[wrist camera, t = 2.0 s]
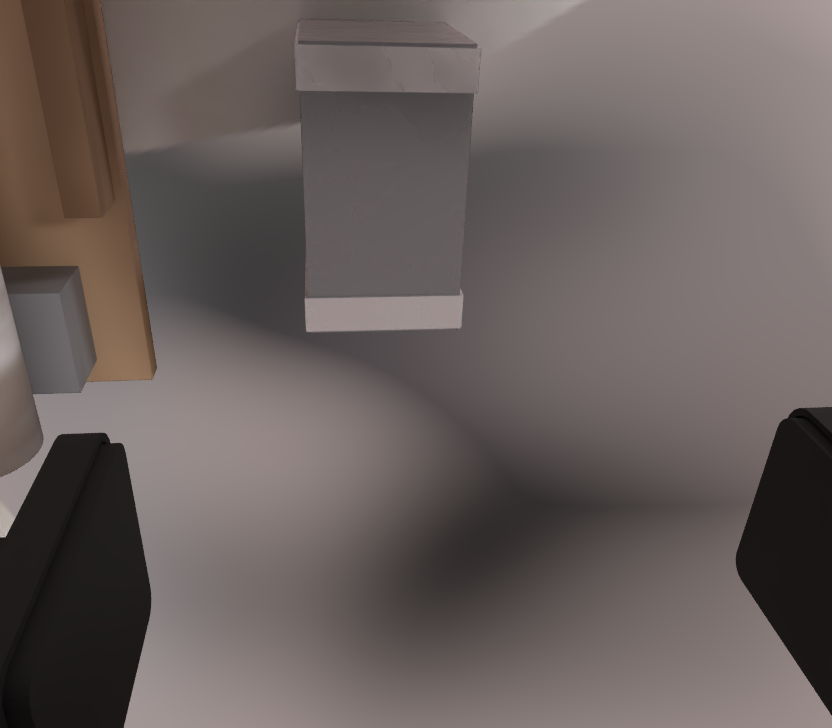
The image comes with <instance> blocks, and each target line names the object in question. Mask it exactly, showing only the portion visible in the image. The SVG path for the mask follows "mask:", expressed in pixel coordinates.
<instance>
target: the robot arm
mask: <svg viewBox="0 0 832 728" xmlns="http://www.w3.org/2000/svg"><path fill="white" fill-rule="evenodd" d="M736 566H737V571H738V574H739V576H740V578H741V580H742V582H743V583H744V585H745V586H746V588H747V589H748V590H749V592H750V594H751V595H752V597H753V598H754V600H755V601H756V603H757V604H758V605H759V607H760V609H761V610H762V612H763V613H764V615H765V616H766V618H767V619H768V621H769V622H770V624H771V625H772V627H773V628H774V630H775V631H776V632H777V634H778V636H779V637H780V639H781V640H782V642H783V643H784V644H785V646H786V647H787V649H788V651H789V652H790V653H791V655H792V656H793V658H794V660H795V661H796V663H797V664H798V666H799V667H800V668H801V670H802V672H803V673H804V675H805V676H806V677H807V679H808V681H809V682H810V684H811V685H812V687H813V688H814V689H815V691H816V693H817V694H818V696H819V697H820V698H821V700H822V702H823V703H824V705H825V706H826V707H827V709H828V710H829V712H830V714H831V715H832V407H822V408H799V409H796V410H794V411H793V412H792V413H791V414H790V415H789V417H788V418H787V419H784V420H783V421H781V422H780V424H779V426H778V428H777V431H776V434H775V437H774V440H773V443H772V446H771V450H770V453H769V456H768V459H767V462H766V465H765V468H764V471H763V474H762V477H761V480H760V483H759V486H758V489H757V493H756V495H755V498H754V502H753V504H752V508H751V511H750V514H749V517H748V520H747V523H746V526H745V529H744V532H743V535H742V538H741V541H740V544H739V547H738V550H737V554H736ZM150 611H151V589H150V583H149V578H148V573H147V567H146V562H145V556H144V550H143V545H142V539H141V534H140V528H139V523H138V518H137V513H136V507H135V501H134V496H133V491H132V485H131V479H130V474H129V469H128V463H127V458H126V453H125V449H124V446H123V444H121V443H112V444H111V443H110V440H109V438H108V436H107V434H105V433H84V434H61V435H59V436H58V437H57V438H56V440H55V441H54V443H53V445H52V447H51V449H50V451H49V453H48V455H47V457H46V459H45V461H44V463H43V465H42V467H41V469H40V471H39V473H38V475H37V477H36V479H35V481H34V483H33V485H32V487H31V489H30V491H29V493H28V495H27V496H26V499H25V500H24V502H23V504H22V506H21V508H20V510H19V512H18V514H17V516H16V518H15V520H14V522H13V524H12V526H11V528H10V530H9V532H8V534H7V536H6V537H4V538H0V728H124V723H125V719H126V714H127V711H128V706H129V702H130V698H131V693H132V689H133V685H134V681H135V677H136V673H137V668H138V664H139V660H140V656H141V651H142V647H143V643H144V639H145V634H146V630H147V625H148V622H149V617H150Z"/></svg>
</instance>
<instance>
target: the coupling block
mask: <svg viewBox="0 0 832 728" xmlns="http://www.w3.org/2000/svg"><path fill="white" fill-rule="evenodd" d="M294 54H295V78H296V91H300V111H301V135H302V136H301V137H302V159H303V160H302V162H303V187H304V212H305V236H306V237H305V238H306V257H305V260H306V261H305V319H306V332H309V333H329V332H368V331H369V332H372V331H415V330H457V329H458V328H461V323H462V309H463V293H462V291H461V289H460V287H461V286H460V285H461V272H462V257H463V241H464V228H465V213H466V199H467V184H468V170H469V155H470V141H471V125H472V112H473V97H474V93H478V84H479V83H478V82H479V70H480V56H481V48H479V47H478V46H477V44H476V43H474V42H473V41H471V40H470V39H469V38H467V37H466V36H464V35H463V34H461V33H460V32H458V31H457V30H455V29H454V28H452V27H451V26H449V25H448V24H446V23H440V22H402V21H363V20H324V19H300V22H298V23H297V30H296V36H295V42H294Z"/></svg>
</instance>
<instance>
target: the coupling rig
mask: <svg viewBox="0 0 832 728" xmlns="http://www.w3.org/2000/svg"><path fill="white" fill-rule="evenodd" d="M156 369H157V366H156V359H155V353H154V346H153V340H152V333H151V327H150V320H149V313H148V307H147V300H146V294H145V288H144V282H143V275H142V269H141V263H140V255H139V249H138V242H137V236H136V229H135V223H134V216H133V210H132V203H131V197H130V190H129V184H128V177H127V171H126V164H125V158H124V151H123V145H122V138H121V132H120V126H119V119H118V113H117V106H116V100H115V93H114V87H113V80H112V74H111V67H110V61H109V54H108V48H107V41H106V35H105V28H104V22H103V15H102V9H101V2H100V0H0V477H2V476H4V475H6V474H8V473H11V472H13V471H15V470H17V469H18V468H20V467H21V466H23V465H24V464H26V463H27V462H29V461H30V460H31V459H32V458H33V457H34V456H35V455H36V454H37V453H38V451H39V450H40V448H41V446H42V444H43V433H42V429H41V425H40V421H39V417H38V413H37V410H36V405H35V401H34V398H33V394H53V393H80V392H81V391H82V389H83V386H84V385H85V383H86V382H94V381H127V380H152V379H153V377H154V374H155V371H156Z"/></svg>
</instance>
